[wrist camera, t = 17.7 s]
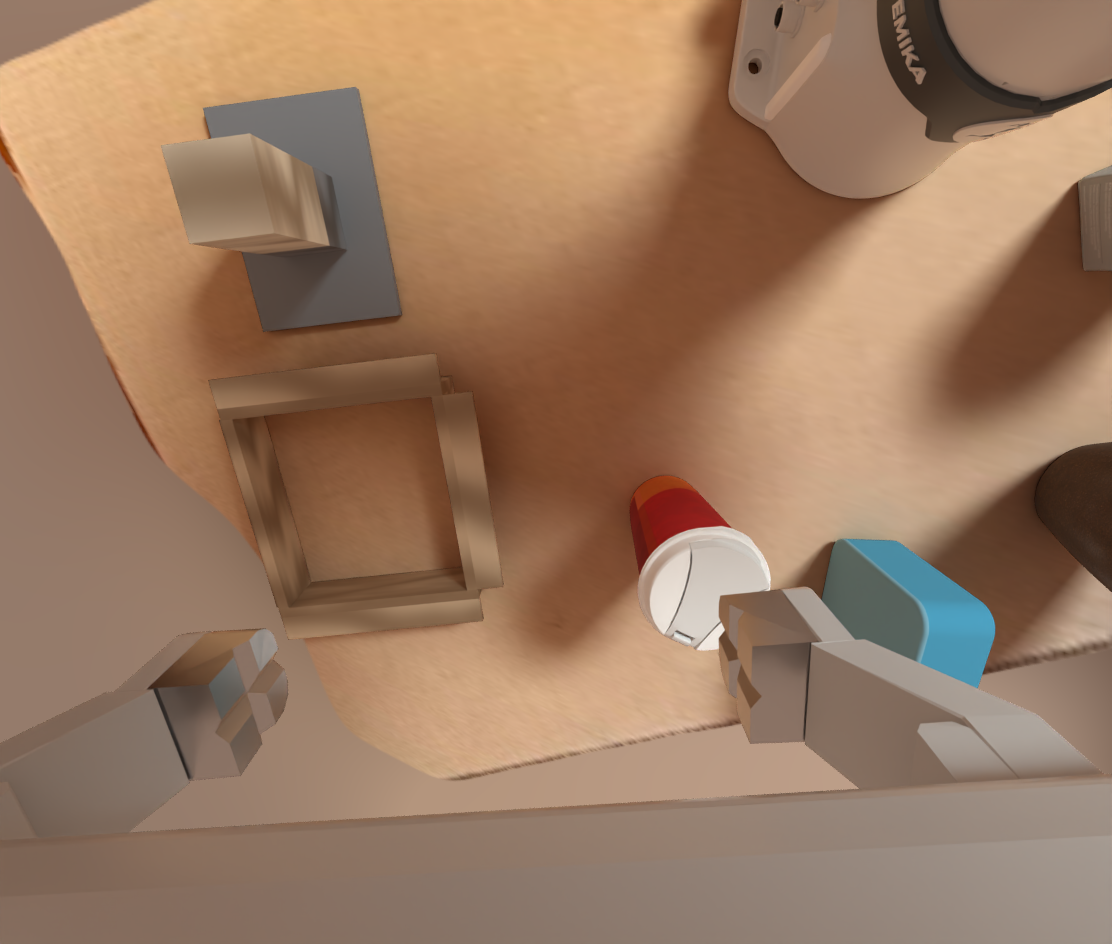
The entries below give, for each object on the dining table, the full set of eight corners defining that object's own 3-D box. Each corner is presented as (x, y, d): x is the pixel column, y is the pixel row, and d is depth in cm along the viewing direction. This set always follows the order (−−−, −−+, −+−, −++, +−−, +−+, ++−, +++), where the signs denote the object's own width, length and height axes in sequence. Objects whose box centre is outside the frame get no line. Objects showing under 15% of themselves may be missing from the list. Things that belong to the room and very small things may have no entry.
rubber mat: (208, 110, 35) (202, 108, 35) (358, 90, 35) (355, 86, 34) (267, 331, 40) (263, 331, 39) (402, 315, 39) (399, 315, 39)
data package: (859, 658, 48) (952, 770, 37) (808, 656, 48) (886, 768, 37) (889, 533, 44) (1004, 615, 33) (834, 531, 44) (930, 613, 33)
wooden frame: (237, 373, 41) (203, 380, 37) (473, 345, 40) (464, 350, 36) (306, 612, 47) (284, 640, 43) (512, 592, 46) (508, 618, 42)
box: (265, 185, 36) (160, 145, 27) (331, 177, 36) (249, 133, 26) (283, 257, 38) (189, 243, 28) (347, 249, 37) (274, 233, 28)
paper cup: (679, 565, 45) (730, 677, 32) (599, 526, 44) (616, 625, 31) (731, 487, 43) (808, 571, 30) (647, 444, 42) (688, 512, 29)
